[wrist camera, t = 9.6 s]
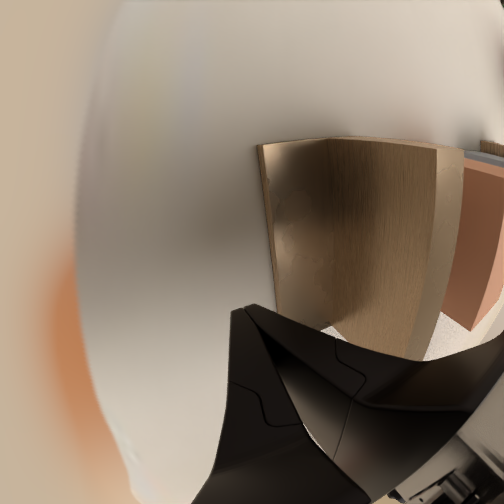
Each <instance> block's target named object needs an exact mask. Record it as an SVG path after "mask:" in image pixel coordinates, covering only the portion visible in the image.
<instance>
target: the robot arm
mask: <svg viewBox="0 0 504 504" xmlns="http://www.w3.org/2000/svg"><path fill="white" fill-rule="evenodd" d="M303 423H304V424H305V426H306V427H307V428H308V430H309V431H310V433H311V434H312V435H313V437H314V438H315V439H316V441H317V442H318V443H319V445H320V446H321V447H322V449H323V450H324V451H325V452H324V451H323V450H322V449H321V448H320V447H319V446H318V445H317V444H316V443H315V442H314V441H313V440H312V438H311V437H310V435H309V434H308V432H307V430H306V428H305V426H304V425H303ZM386 494H387V495H388V497H389V498H393V499H396V500H398V501H399V502H400V503H403V504H404V503H405V502H406V503H405V504H504V330H503V332H502V333H501V334H500V335H498V336H497V337H496V338H494V339H492V340H491V341H489V342H486V343H484V344H481V345H478V346H476V347H473V348H470V349H467V350H464V351H461V352H458V353H455V354H452V355H449V356H446V357H442V358H439V359H436V360H431V361H415V360H409V359H405V358H401V357H397V356H393V355H389V354H385V353H381V352H377V351H373V350H370V349H366V348H363V347H360V346H357V345H354V344H351V343H349V342H346V341H343V340H341V339H338V338H335V337H333V336H331V335H328V334H326V333H323V332H321V331H318V330H316V329H313V328H311V327H308V326H306V325H304V324H301V323H299V322H297V321H294V320H292V319H289V318H287V317H285V316H282V315H280V314H278V313H276V312H273V311H271V310H269V309H266V308H264V307H262V306H260V305H257V304H251V305H248V306H245V307H244V308H239V309H236V310H233V311H231V317H230V338H229V361H228V383H227V400H226V409H225V415H224V421H223V426H222V430H221V435H220V440H219V444H218V449H217V454H216V458H215V462H214V465H213V468H212V471H211V473H210V475H209V477H208V479H207V481H206V482H205V484H204V485H203V487H202V488H201V490H200V491H199V493H198V494H197V496H196V497H195V499H194V500H193V502H192V503H191V504H372V503H374V502H376V501H377V500H378V499H380V498H382V497H383V496H385V495H386Z"/></svg>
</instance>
